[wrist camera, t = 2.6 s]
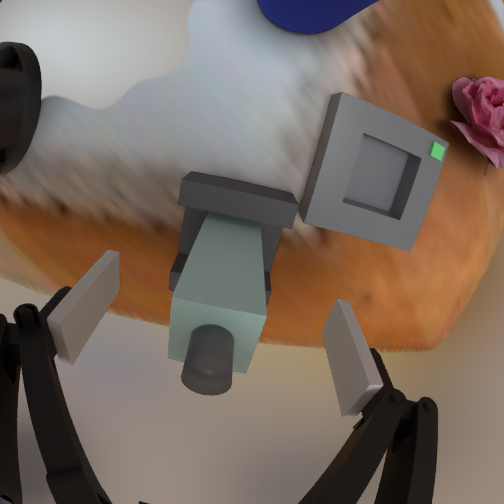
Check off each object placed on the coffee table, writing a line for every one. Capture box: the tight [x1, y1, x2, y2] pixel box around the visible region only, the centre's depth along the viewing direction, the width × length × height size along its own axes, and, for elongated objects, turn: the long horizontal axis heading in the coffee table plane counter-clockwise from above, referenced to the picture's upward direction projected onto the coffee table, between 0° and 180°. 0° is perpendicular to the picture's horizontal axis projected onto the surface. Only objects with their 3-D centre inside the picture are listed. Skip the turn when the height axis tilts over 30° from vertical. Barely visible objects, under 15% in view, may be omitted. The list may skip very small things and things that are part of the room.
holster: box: [169, 171, 299, 306], centre depth 22 cm, size 8×9×4 cm
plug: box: [168, 211, 267, 395], centre depth 17 cm, size 4×4×14 cm
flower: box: [449, 76, 504, 176], centre depth 15 cm, size 11×10×10 cm
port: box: [299, 92, 449, 252], centre depth 20 cm, size 10×10×3 cm
